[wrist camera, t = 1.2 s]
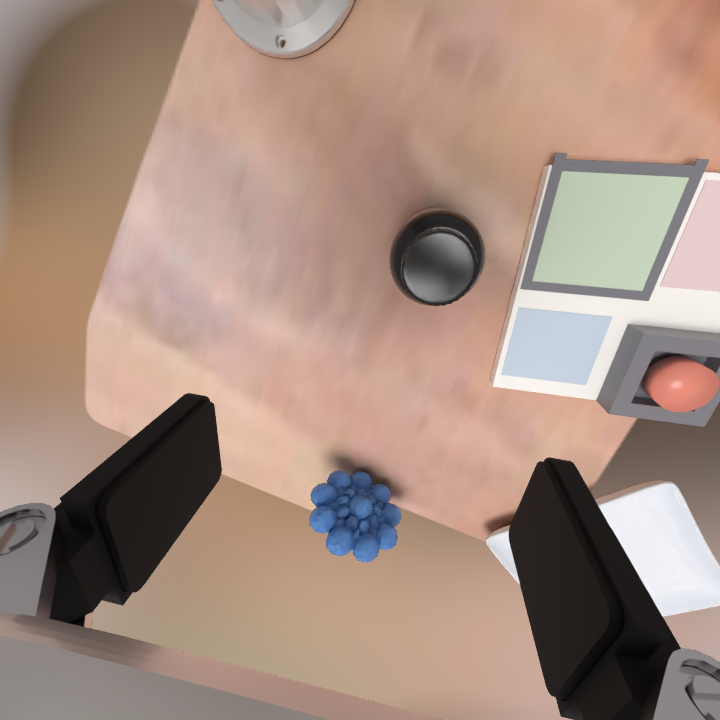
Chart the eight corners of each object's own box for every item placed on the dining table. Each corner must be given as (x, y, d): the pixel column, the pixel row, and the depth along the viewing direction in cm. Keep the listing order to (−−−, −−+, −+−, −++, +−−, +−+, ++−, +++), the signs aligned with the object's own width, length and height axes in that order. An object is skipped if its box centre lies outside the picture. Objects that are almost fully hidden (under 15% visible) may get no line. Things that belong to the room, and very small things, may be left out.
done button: (654, 352, 29) (669, 362, 27) (711, 359, 29) (730, 369, 27) (633, 396, 31) (646, 408, 29) (686, 403, 31) (703, 415, 29)
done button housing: (627, 323, 30) (644, 333, 28) (728, 334, 29) (753, 344, 27) (596, 400, 34) (608, 413, 32) (685, 411, 33) (704, 426, 31)
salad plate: (552, 613, 50) (561, 639, 47) (478, 519, 45) (482, 542, 42) (721, 575, 42) (744, 604, 39) (653, 457, 37) (674, 479, 34)
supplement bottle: (384, 265, 33) (366, 294, 23) (416, 194, 30) (412, 188, 20) (447, 295, 34) (459, 337, 23) (485, 227, 31) (518, 238, 20)
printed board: (546, 155, 28) (553, 152, 26) (800, 166, 25) (823, 164, 24) (490, 379, 36) (492, 387, 35) (674, 403, 34) (686, 412, 33)
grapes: (312, 472, 46) (279, 553, 36) (335, 440, 43) (306, 518, 33) (385, 513, 47) (373, 604, 36) (412, 485, 44) (408, 575, 34)
